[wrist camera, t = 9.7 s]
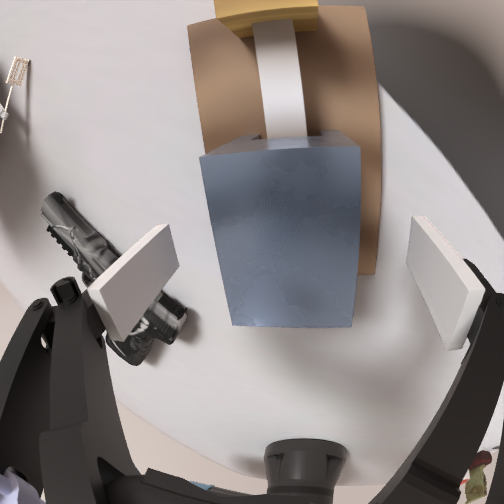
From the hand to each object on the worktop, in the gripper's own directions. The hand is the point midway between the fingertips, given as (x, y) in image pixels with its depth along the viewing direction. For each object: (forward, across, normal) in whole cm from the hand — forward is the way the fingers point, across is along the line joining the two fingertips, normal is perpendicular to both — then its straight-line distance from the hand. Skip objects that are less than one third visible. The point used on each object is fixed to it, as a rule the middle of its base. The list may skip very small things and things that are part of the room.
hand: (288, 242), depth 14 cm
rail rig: (+7, 0, -4) cm, 8 cm away
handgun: (+8, +22, +8) cm, 24 cm away
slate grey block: (+6, 0, -1) cm, 6 cm away
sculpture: (+9, -52, +72) cm, 89 cm away
